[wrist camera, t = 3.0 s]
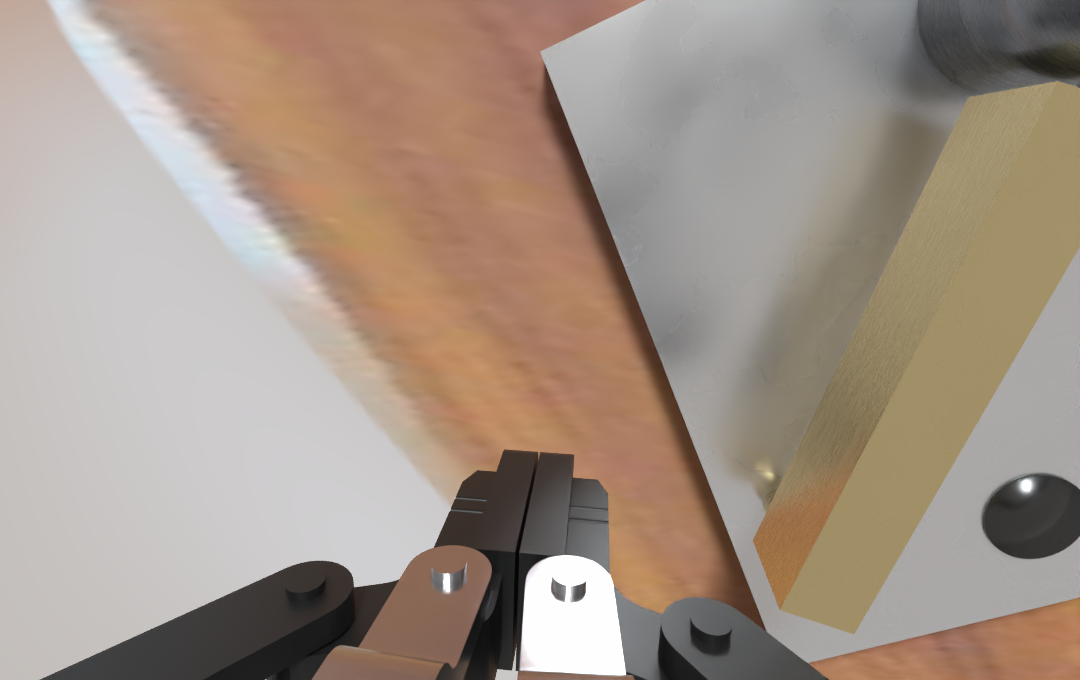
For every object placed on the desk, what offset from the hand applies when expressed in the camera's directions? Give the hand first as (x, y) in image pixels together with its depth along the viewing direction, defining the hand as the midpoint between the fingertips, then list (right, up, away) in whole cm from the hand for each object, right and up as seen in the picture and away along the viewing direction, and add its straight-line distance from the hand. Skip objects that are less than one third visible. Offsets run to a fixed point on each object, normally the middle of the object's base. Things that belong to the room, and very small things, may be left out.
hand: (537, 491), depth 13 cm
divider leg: (+8, +3, +1) cm, 8 cm away
